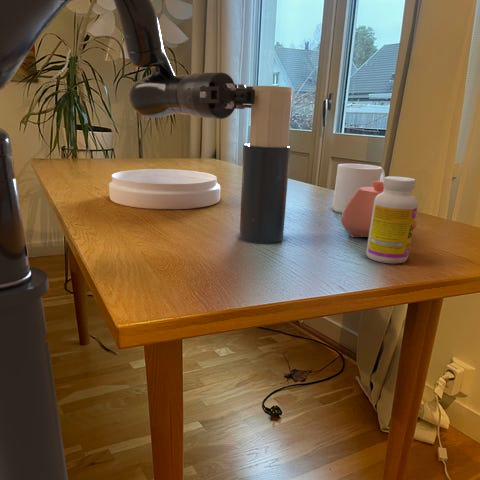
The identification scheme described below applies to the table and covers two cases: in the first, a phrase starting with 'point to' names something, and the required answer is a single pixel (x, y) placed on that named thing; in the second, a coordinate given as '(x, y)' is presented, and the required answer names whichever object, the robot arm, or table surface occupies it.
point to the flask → (263, 193)
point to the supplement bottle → (392, 221)
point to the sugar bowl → (362, 210)
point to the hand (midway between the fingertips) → (271, 97)
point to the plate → (164, 189)
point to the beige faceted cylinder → (271, 116)
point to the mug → (353, 182)
